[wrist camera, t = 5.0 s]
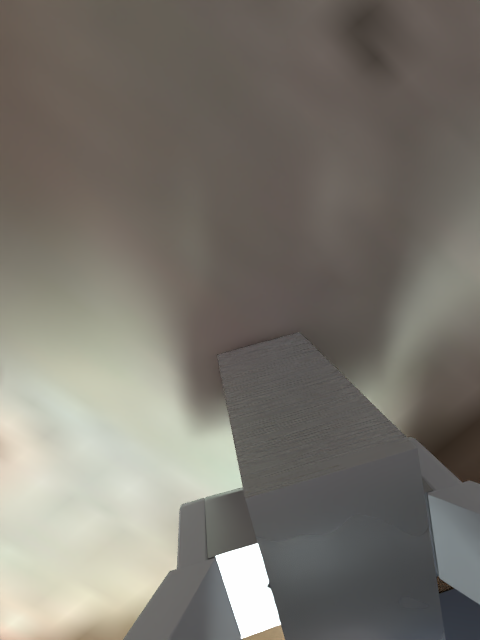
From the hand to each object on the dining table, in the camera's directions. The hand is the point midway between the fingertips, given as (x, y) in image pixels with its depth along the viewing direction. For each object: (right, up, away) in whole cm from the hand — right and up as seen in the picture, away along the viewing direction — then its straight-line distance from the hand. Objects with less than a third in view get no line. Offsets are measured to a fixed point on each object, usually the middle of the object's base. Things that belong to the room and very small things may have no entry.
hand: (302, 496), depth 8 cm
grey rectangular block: (0, 0, +2) cm, 2 cm away
